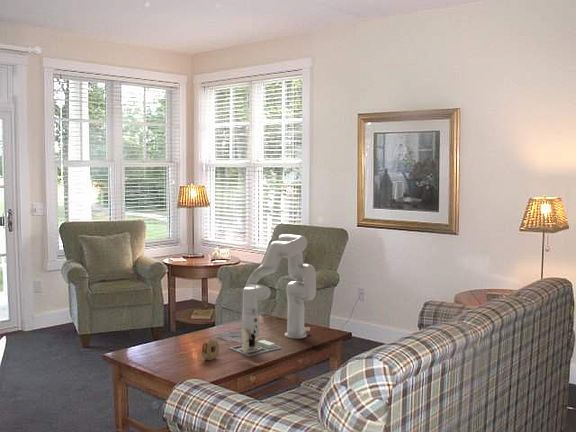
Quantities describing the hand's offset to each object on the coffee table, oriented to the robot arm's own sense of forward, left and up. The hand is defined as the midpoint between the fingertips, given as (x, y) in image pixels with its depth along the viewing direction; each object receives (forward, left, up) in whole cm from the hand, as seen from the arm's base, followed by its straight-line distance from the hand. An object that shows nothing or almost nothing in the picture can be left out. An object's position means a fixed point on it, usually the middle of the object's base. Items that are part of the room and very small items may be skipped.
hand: (249, 345), depth 326 cm
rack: (-4, 0, -4) cm, 5 cm away
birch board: (0, 0, -3) cm, 3 cm away
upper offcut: (-11, 0, -2) cm, 11 cm away
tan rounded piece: (+22, -3, -4) cm, 23 cm away
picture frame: (-11, -24, -5) cm, 27 cm away
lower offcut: (-11, 0, -4) cm, 12 cm away
